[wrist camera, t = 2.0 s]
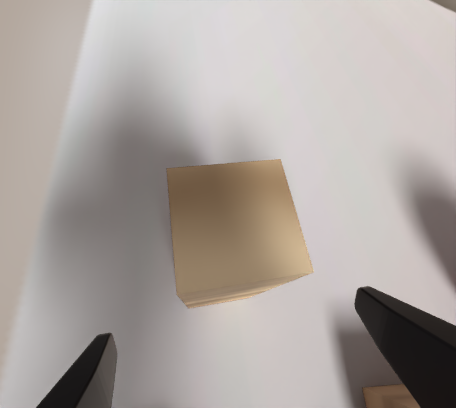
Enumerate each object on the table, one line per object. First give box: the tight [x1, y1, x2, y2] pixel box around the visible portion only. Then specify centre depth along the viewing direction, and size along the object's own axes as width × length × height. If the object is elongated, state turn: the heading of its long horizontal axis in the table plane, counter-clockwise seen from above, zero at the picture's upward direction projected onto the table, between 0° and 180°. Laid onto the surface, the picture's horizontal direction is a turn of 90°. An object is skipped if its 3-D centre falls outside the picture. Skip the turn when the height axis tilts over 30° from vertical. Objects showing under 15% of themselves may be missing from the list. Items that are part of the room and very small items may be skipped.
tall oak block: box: [167, 159, 314, 308], centre depth 14 cm, size 4×4×12 cm
